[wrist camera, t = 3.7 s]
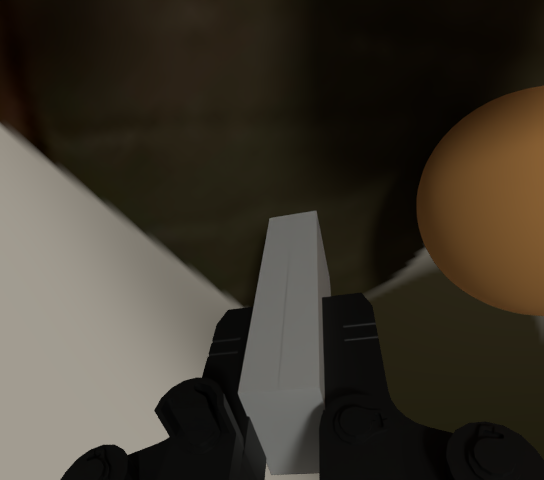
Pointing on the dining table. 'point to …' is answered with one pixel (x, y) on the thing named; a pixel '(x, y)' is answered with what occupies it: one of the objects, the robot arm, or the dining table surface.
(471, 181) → the ball
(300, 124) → the dining table surface
